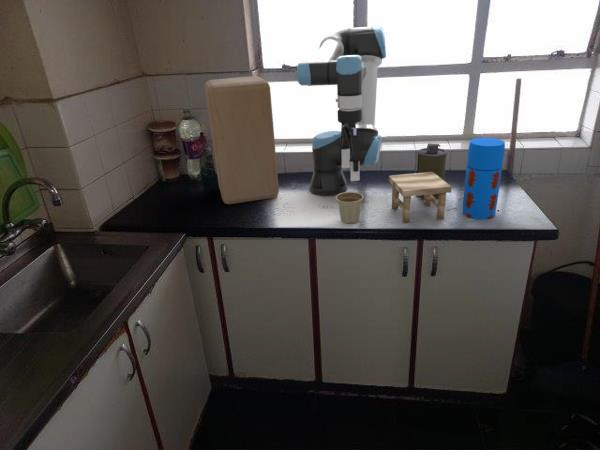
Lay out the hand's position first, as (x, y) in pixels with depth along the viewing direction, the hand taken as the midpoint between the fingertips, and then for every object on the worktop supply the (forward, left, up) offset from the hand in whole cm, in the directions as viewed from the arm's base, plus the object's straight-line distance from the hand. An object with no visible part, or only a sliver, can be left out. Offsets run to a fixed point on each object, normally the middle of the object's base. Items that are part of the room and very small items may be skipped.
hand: (350, 174), depth 145 cm
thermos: (+5, +44, -17) cm, 47 cm away
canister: (-15, +34, -17) cm, 40 cm away
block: (-36, -35, -17) cm, 53 cm away
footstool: (0, +24, -17) cm, 29 cm away
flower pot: (0, 0, -17) cm, 17 cm away
